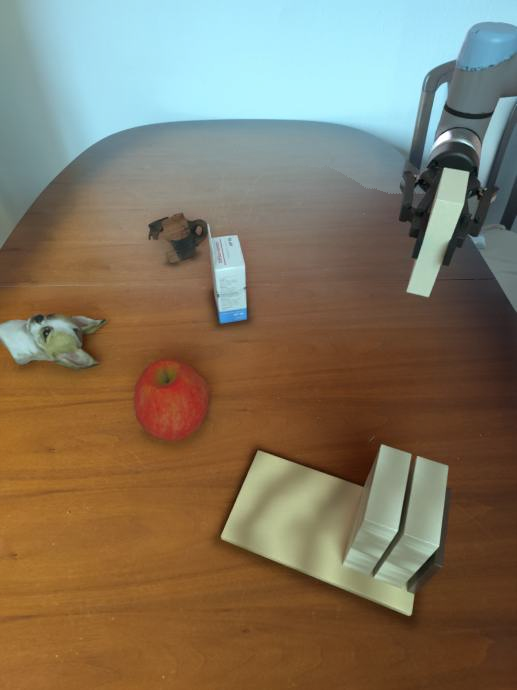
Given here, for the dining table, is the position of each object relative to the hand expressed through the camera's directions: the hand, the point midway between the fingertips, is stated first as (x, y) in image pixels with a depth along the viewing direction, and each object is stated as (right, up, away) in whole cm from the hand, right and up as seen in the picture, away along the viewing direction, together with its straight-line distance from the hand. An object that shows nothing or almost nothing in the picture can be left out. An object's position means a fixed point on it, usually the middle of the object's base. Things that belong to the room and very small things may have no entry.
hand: (432, 252), depth 54 cm
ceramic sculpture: (-53, -13, +18) cm, 57 cm away
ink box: (-26, -4, +26) cm, 37 cm away
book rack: (-13, -33, 0) cm, 35 cm away
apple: (-33, -22, +10) cm, 41 cm away
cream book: (+2, -2, +9) cm, 10 cm away
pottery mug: (-37, +8, +37) cm, 53 cm away
